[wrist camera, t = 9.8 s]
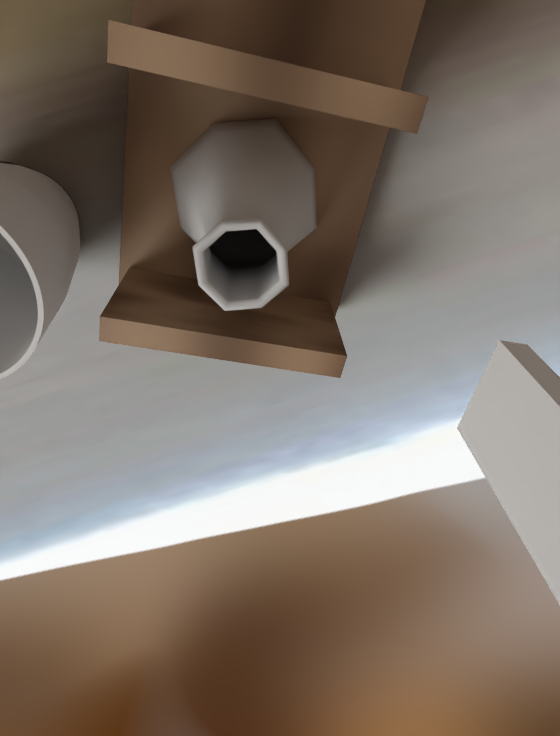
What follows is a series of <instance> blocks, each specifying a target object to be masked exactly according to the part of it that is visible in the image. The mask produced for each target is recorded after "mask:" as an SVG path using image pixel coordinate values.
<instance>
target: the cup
mask: <svg viewBox="0 0 560 736" xmlns="http://www.w3.org/2000/svg"><path fill="white" fill-rule="evenodd" d="M79 253H80V230H79V219H78V215H77V211H76V209H75V206H74V204H73V202H72V200H71V199H70V197H69V196H68V194H67V193H66V192H65V191H64V190H63V188H62V187H61V186H60V185H58V184H57V183H56V182H55V181H54V180H52V179H51V178H49V177H48V176H46V175H44V174H42V173H40V172H37V171H34V170H31V169H29V168H26V167H23V166H20V165H17V164H14V163H10V162H5V161H0V379H1V378H4V377H6V376H8V375H9V374H11V373H13V372H14V371H16V370H17V369H18V368H19V367H21V366H22V365H23V364H24V363H25V362H26V361H27V360H28V358H29V357H30V356H31V354H32V353H33V351H34V350H35V348H36V346H37V345H38V343H39V341H40V340H41V338H42V336H43V335H44V333H45V331H46V330H47V328H48V326H49V325H50V323H51V321H52V320H53V318H54V316H55V315H56V313H57V311H58V310H59V308H60V306H61V305H62V303H63V301H64V299H65V297H66V295H67V292H68V289H69V286H70V283H71V280H72V277H73V274H74V271H75V267H76V264H77V261H78V258H79Z"/></svg>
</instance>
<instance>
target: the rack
mask: <svg viewBox="0 0 560 736" xmlns="http://www.w3.org/2000/svg"><path fill="white" fill-rule="evenodd" d="M425 2H426V0H132V13H131V25H128V24H124V23H119V22H115V21H111V20H108V46H107V63H112V64H116V65H120V66H125V67H129V77H128V99H127V120H126V142H125V163H124V184H123V206H122V227H121V249H120V270H119V286H118V287H117V289H116V291H115V292H114V294H113V296H112V297H111V299H110V301H109V302H108V304H107V306H106V307H105V309H104V311H103V312H102V314H101V316H100V336H99V341H103V342H110V343H116V344H123V345H129V346H136V347H142V348H149V349H155V350H162V351H168V352H175V353H181V354H188V355H194V356H201V357H207V358H214V359H220V360H227V361H234V362H240V363H247V364H253V365H260V366H266V367H273V368H279V369H286V370H292V371H299V372H305V373H312V374H318V375H325V376H331V377H338V378H340V377H341V374H342V371H343V367H344V364H345V361H346V358H347V354H346V351H345V348H344V345H343V342H342V338H341V335H340V332H339V329H338V326H337V323H336V319H335V316H336V312H337V309H338V305H339V302H340V298H341V295H342V291H343V288H344V284H345V281H346V277H347V274H348V270H349V267H350V263H351V260H352V256H353V253H354V250H355V246H356V243H357V239H358V236H359V232H360V229H361V225H362V222H363V218H364V215H365V211H366V208H367V204H368V201H369V197H370V194H371V190H372V187H373V183H374V180H375V176H376V173H377V170H378V166H379V163H380V159H381V156H382V152H383V149H384V145H385V142H386V138H387V135H388V131H389V128H395V129H399V130H403V131H408V132H412V133H417V132H418V129H419V126H420V122H421V119H422V116H423V113H424V110H425V106H426V103H427V100H428V97H426V96H422V95H418V94H414V93H409V92H405V91H401V90H400V89H401V86H402V83H403V79H404V76H405V72H406V69H407V65H408V62H409V58H410V55H411V51H412V48H413V44H414V41H415V37H416V34H417V30H418V27H419V23H420V20H421V16H422V13H423V9H424V6H425ZM263 119H276V120H277V121H278V122H279V123H280V125H281V126H282V127H283V128H284V130H285V131H286V132H287V134H288V135H289V136H290V137H291V139H292V140H293V141H294V143H295V144H296V145H297V146H298V148H299V149H300V150H301V151H302V153H303V154H304V155H305V157H306V158H307V159H308V160H309V162H310V163H311V164H312V166H313V167H314V168H315V194H316V226H317V228H316V229H314V230H313V231H312V232H311V233H310V234H308V235H307V236H306V237H305V238H304V239H303V240H301V241H300V242H299V243H298V244H297V245H295V246H294V247H293V248H292V249H291V250H290V251H288V252H287V255H288V272H289V286H288V287H286V288H285V289H284V290H283V291H281V292H280V293H279V294H278V295H277V296H275V297H274V298H273V299H272V300H270V301H269V302H268V303H267V304H266V305H264V306H263V307H262V308H255V309H243V310H231V311H224V310H223V309H222V308H221V307H220V306H219V305H218V304H217V303H216V302H215V301H214V300H213V299H212V298H211V297H210V296H209V295H208V294H207V293H206V292H205V291H204V290H203V289H202V288H201V287H200V286H199V285H198V279H197V273H196V266H195V260H194V254H193V246H194V245H195V244H196V243H195V242H194V241H193V240H192V239H191V238H190V237H189V236H188V235H187V234H186V233H185V232H184V230H183V229H182V228H181V227H180V222H179V217H178V211H177V205H176V199H175V193H174V187H173V181H172V176H171V170H170V167H171V166H172V165H173V164H174V163H175V162H176V161H177V160H178V159H179V158H180V157H181V156H182V155H183V154H184V153H185V152H186V151H187V150H188V149H189V148H190V147H191V146H192V144H193V143H194V142H195V141H196V140H197V139H198V138H199V137H200V136H201V135H202V134H203V133H204V132H205V131H206V130H207V129H208V128H209V127H210V126H211V125H212V124H213V123H226V122H238V121H251V120H263Z"/></svg>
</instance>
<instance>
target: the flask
mask: <svg viewBox="0 0 560 736" xmlns="http://www.w3.org/2000/svg"><path fill="white" fill-rule="evenodd" d="M170 170H171V176H172V181H173V187H174V193H175V199H176V205H177V211H178V217H179V222H180V227H181V228H182V229H183V230H184V232H185V233H186V234H187V235H188V236H189V237H190V238H191V239H192V240H193V241H194V242H195V243H196V244H195V245H194V246H193V254H194V260H195V266H196V273H197V279H198V285H199V286H200V287H201V288H202V289H203V290H204V291H205V292H206V293H207V294H208V295H209V296H210V297H211V298H212V299H213V300H214V301H215V302H216V303H217V304H218V305H219V306H220V307H221V308H222V309H223V310H224V311H231V310H243V309H255V308H262V307H263V306H264V305H266V304H267V303H268V302H269V301H270V300H272V299H273V298H274V297H275V296H277V295H278V294H279V293H280V292H281V291H283V290H284V289H285V288H286V287H288V286H289V272H288V255H287V252H288V251H290V250H291V249H292V248H293V247H294V246H295V245H297V244H298V243H299V242H300V241H301V240H303V239H304V238H305V237H306V236H307V235H308V234H310V233H311V232H312V231H313V230H314V229H316V228H317V226H316V194H315V168H314V167H313V166H312V164H311V163H310V162H309V160H308V159H307V158H306V157H305V155H304V154H303V153H302V151H301V150H300V149H299V148H298V146H297V145H296V144H295V143H294V141H293V140H292V139H291V137H290V136H289V135H288V134H287V132H286V131H285V130H284V128H283V127H282V126H281V125H280V123H279V122H278V121H277V120H276V119H263V120H251V121H238V122H226V123H213V124H212V125H211V126H210V127H209V128H208V129H207V130H206V131H205V132H204V133H203V134H202V135H201V136H200V137H199V138H198V139H197V140H196V141H195V142H194V143H193V144H192V146H191V147H190V148H189V149H188V150H187V151H186V152H185V153H184V154H183V155H182V156H181V157H180V158H179V159H178V160H177V161H176V162H175V163H174V164H173V165H172V166H171V167H170Z"/></svg>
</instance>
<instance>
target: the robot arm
mask: <svg viewBox="0 0 560 736" xmlns="http://www.w3.org/2000/svg"><path fill="white" fill-rule="evenodd" d="M457 429H458V430H459V432H460V434H461V436H462V437H463V439H464V441H465V442H466V444H467V446H468V448H469V449H470V451H471V453H472V455H473V456H474V458H475V460H476V461H477V463H478V465H479V467H480V468H481V470H482V472H483V474H484V475H485V477H486V479H487V480H488V482H489V484H490V486H491V487H492V489H493V491H494V493H495V494H496V496H497V498H498V499H499V501H500V503H501V505H502V506H503V508H504V510H505V512H506V513H507V515H508V517H509V518H510V520H511V522H512V524H513V525H514V527H515V529H516V530H517V532H518V534H519V536H520V537H521V539H522V541H523V543H524V544H525V546H526V548H527V549H528V551H529V553H530V555H531V556H532V558H533V560H534V561H535V563H536V565H537V567H538V568H539V570H540V572H541V574H542V575H543V577H544V579H545V581H546V582H547V584H548V586H549V587H550V589H551V591H552V593H553V594H554V596H555V598H556V600H557V601H558V603H559V605H560V377H559V376H558V375H557V374H556V373H555V372H554V371H553V370H552V369H551V368H550V367H549V366H548V365H547V364H546V363H545V362H544V361H543V360H542V359H541V358H540V357H539V356H538V355H537V354H536V353H535V352H534V351H533V350H532V349H531V348H530V347H529V346H528V345H525V344H519V343H513V342H507V341H501V340H499V342H498V344H497V346H496V348H495V350H494V352H493V354H492V356H491V359H490V361H489V363H488V365H487V367H486V369H485V371H484V373H483V375H482V377H481V379H480V381H479V384H478V386H477V388H476V390H475V392H474V394H473V396H472V398H471V400H470V402H469V404H468V406H467V409H466V411H465V413H464V415H463V417H462V419H461V421H460V423H459V425H458V427H457Z"/></svg>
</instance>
